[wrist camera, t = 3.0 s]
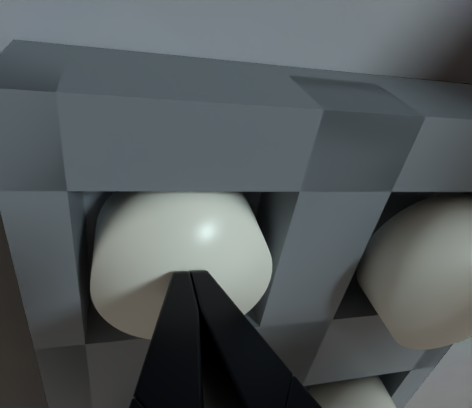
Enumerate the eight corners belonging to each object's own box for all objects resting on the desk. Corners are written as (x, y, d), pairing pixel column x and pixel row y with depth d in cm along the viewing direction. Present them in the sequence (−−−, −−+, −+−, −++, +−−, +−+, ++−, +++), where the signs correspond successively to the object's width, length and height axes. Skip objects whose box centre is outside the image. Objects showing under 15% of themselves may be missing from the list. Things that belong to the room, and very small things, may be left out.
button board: (528, 89, 12) (621, 129, 10) (350, 387, 23) (376, 441, 20) (13, 39, 8) (-31, 86, 6) (78, 430, 19) (71, 504, 16)
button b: (265, 166, 10) (290, 211, 9) (239, 281, 13) (255, 331, 11) (90, 163, 9) (83, 214, 7) (99, 290, 12) (95, 348, 10)
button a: (515, 193, 11) (577, 236, 10) (446, 293, 14) (487, 341, 12) (388, 192, 10) (436, 242, 9) (338, 303, 13) (367, 357, 11)
